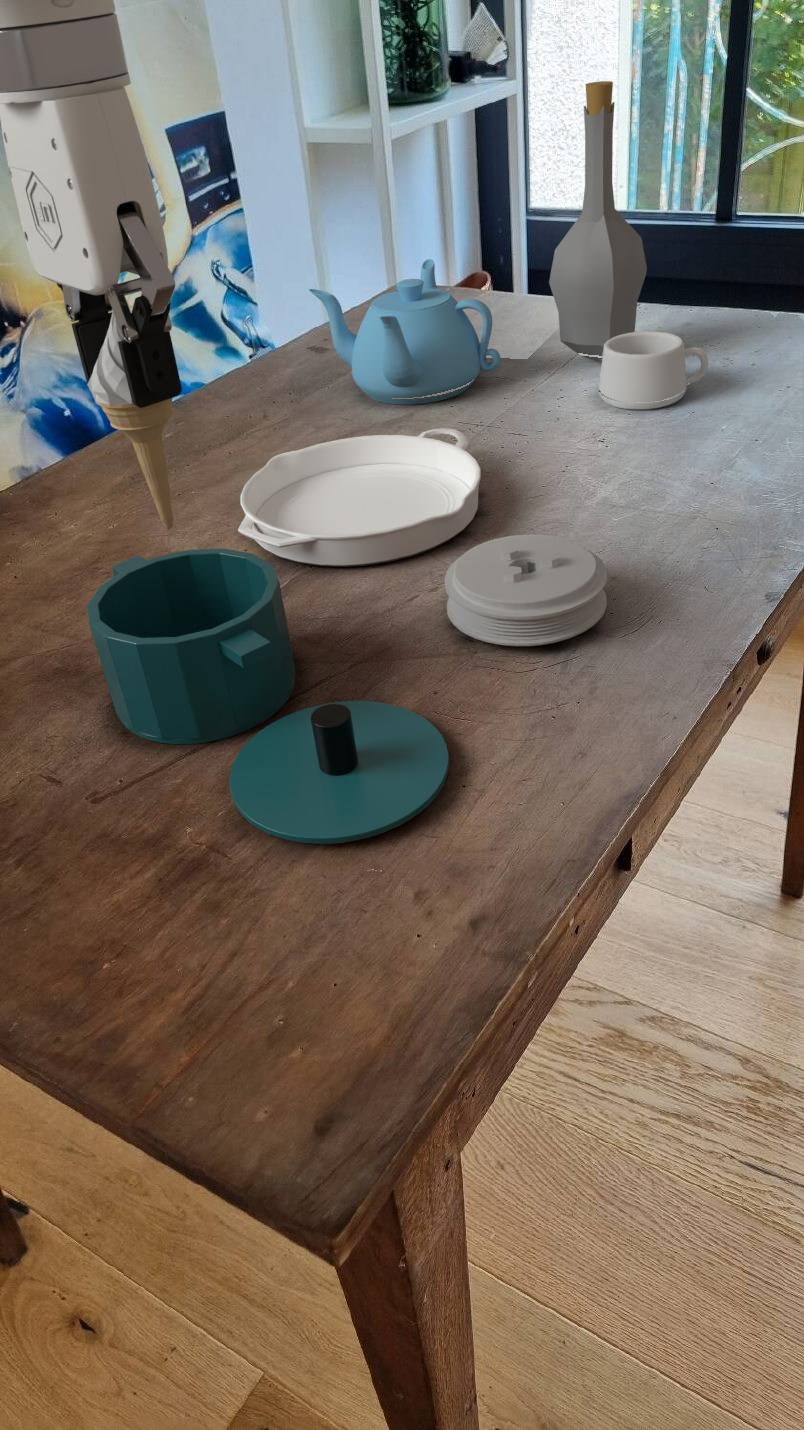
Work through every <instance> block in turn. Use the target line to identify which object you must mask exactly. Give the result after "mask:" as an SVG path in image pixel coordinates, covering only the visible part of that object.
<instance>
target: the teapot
mask: <svg viewBox="0 0 804 1430" xmlns="http://www.w3.org/2000/svg"><path fill="white" fill-rule="evenodd" d="M435 265H436V264H435V261H434V260H433V259H432V258H429V259H426V260H424V262H423V263H422V265H421V268H420V278H407V279H403V280H400V281H398V282H397V283H396V284H395V287H396V289H397V290H395V291H391V292H388V293H385V294H383V295H379V296H378V297H376V298H375V299H374V300H372V302H371V304H370V306H369V307H368V308H367V311H366V313H365V315H364V318H363V320H362V322H361V324H360V327H359V329H358V332H357V334H354V333H353V332H352V331H351V329H349V328H348V325H347V324H346V321H345V317H344V312H343V309H342V305H341V303H340V302H339V300H338V298H337V297H336V296H335V295H334V294H332V293H330V292H328V291H325V290H321V289H316V288H310V289H308V291H309V292H310V293H311V294H312V295H314V296H315V297H316V298H317V299H319V300H320V302H321V303H322V304H323V307H324V308H325V311H326V313H327V316H328V320H329V327H330V334H331V339H332V343H333V347H334V350H335V351H336V353H337V355H338V357H339V358H340V359H341V360H342V361H343V362H344V363H346V364H347V365H348V366H350V367H351V376H352V379H353V381H354V383H355V384H356V385H357V386H358V387H359V389H360V390H362V392H363V393H365V394H366V395H367V396H368V397H369V398H371V399H372V400H374V401H376V402H380V403H384V404H388V405H389V404H390V405H421V404H422V405H423V404H431V403H434V402H440V401H443V400H448V399H450V398H453V397H456V396H459V395H460V394H463V393H464V392H465V391H467V390H468V389H469V388H470V387H471V386H472V384H473V383H474V382H475V380H476V379H477V378H478V376H479V374H480V373H481V371H483V372H485V373H486V372H487V373H490V372H493V371H495V370H497V369H498V368H499V367H500V365H501V357H502V356H501V355H500V352H499V351H498V350H497V349H495V348H489V344H490V340H491V335H492V330H493V329H492V328H493V315H492V311H491V310H490V308H489V306H488V305H486V303H484V302H483V301H481V300H478V299H477V298H465V299H462V300H460V301H457V299H455V297H454V296H453V295H452V294H451V293H449V292H448V291H446V290H445V289H444V290H443V289H441V288H440V289H439V288H438V287H437V282H436V274H435V268H436V267H435ZM468 309H471V310H475V311H476V312H478V313H479V314H480V315H481V317H482V333H481V337H480V340H479V336H478V333H477V331H476V329H475V326H474V325H473V323H472V322H471V320H470V318H469V316H468V315H467V314H466V312H465V311H464V310H468ZM488 356H491V358H492V360H493V361H492V362H489V361H488V359H487V357H488ZM475 378H476V379H475ZM473 379H475V380H474V381H473V382H471V381H472V380H473ZM469 382H471V383H470V384H469V385H467V386H465V387H463V388H461V389H458V390H455V391H453V392H449V393H446V394H442V395H437V396H431V397H424V398H414V399H392V398H413V397H422V396H427V395H432V394H437V393H441V392H445V391H448V390H451V389H456V388H458V387H461V386H463V385H466V384H467V383H469Z"/></svg>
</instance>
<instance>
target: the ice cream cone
mask: <svg viewBox="0 0 804 1430" xmlns="http://www.w3.org/2000/svg"><path fill="white" fill-rule="evenodd" d="M111 312H112V316H111V321H110V325H109V329H108V332H107V335H106V338H105V341H104V344H103V346H102V348H101V350H100V353H99V357H98V359H97V362H96V364H95V366H94V369H93V373H92V375H91V378H90V380H89V382H88V383H87V384H86V385H87V387H88V389H89V391H90V393H91V395H92V397H93V399H94V402H95V405H98V406H100V407H101V409H102V411H103V413H104V414H105V415H106V417H107V419H108V420H109V422H110V426H111V427H112V428H114V429H116V430H118V431H119V432H121V433H122V434H124V436H125V437H127V438H128V439H129V440H130V441H131V443H132V445H133V449H134V451H135V454H136V457H137V459H138V463H139V465H140V468H141V471H142V474H143V476H144V478H145V481H146V483H147V486H148V489H149V491H150V494H151V497H152V499H153V501H154V504H155V506H156V509H157V512H158V515H159V518H160V520H161V523H162V525H163V526H164V528H165V529H167V530H171V529H172V528H173V526H174V514H173V508H172V502H171V491H170V484H169V477H168V468H167V460H166V454H165V448H164V446H165V445H164V440H163V436H162V434H163V431H164V429H165V426H166V424H167V423H168V421H169V420H170V418H172V416H173V414H174V411H173V410H172V409H173V398H170V399H167V400H164V401H161V402H158V403H155V404H152V405H149V406H146V407H144V408H140V407H137V406H135V405H134V404H133V402H132V399H131V395H130V391H129V387H128V382H127V378H126V374H125V370H124V366H123V362H122V358H121V354H120V350H119V346H118V342H119V341H122V340H125V339H124V338H123V335H122V333H121V330H120V328H119V325H118V322H117V320H116V317H115V314H114V312H113V311H111Z"/></svg>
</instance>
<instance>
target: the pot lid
mask: <svg viewBox="0 0 804 1430" xmlns="http://www.w3.org/2000/svg"><path fill="white" fill-rule="evenodd" d="M449 769H450V755H449V749H448V745H447V743H446V740H445V738H444V737H443V734H441V732H440V731H439V729H438V728H436V726H434V724H433V723H432V722H430V721H429V720H428V719H426V718H425V717H424V716H422V715H420V714H418V713H417V712H414V711H412V710H410V709H407V708H405V707H402V706H398V705H395V704H390V703H385V702H381V701H380V702H379V701H371V700H347V701H346V700H345V701H336V702H328V703H327V702H326V703H323V704H319V705H314V706H311V707H307V708H303V709H300V710H297V711H295V712H292V713H289V714H288V715H285V716H283V717H281V718H279V719H277V720H275V721H273V722H272V723H270V724H269V725H266V726H265V727H264V728H263V729H261V730H260V731H258V732H257V733H256V734H255V735H254V736H252V737H251V738H250V739H248V741H247V742H246V743H245V744H244V746H243V747H241V749H240V750H239V752H238V754H237V755H236V757H235V759H234V761H233V763H232V765H231V770H230V773H229V782H228V783H229V789H230V795H231V798H232V801H233V803H234V806H235V807H236V808H237V811H238V812H239V814H240V815H241V816H242V817H243V818H244V819H245V820H246V821H247V822H249V823H250V824H251V825H252V826H254V827H255V828H257V829H258V830H260V831H262V832H263V833H266V834H268V835H271V836H272V837H273V836H274V837H276V838H279V839H282V840H287V841H290V842H295V843H296V842H297V843H304V844H318V845H327V844H341V843H348V842H355V841H359V840H364V839H368V838H371V837H375V836H378V835H381V834H384V833H386V832H389V831H390V830H393V829H395V828H397V827H400V826H402V825H403V824H405V823H407V822H408V821H410V820H411V819H413V818H415V817H416V816H417V815H419V814H420V813H422V811H423V810H425V809H426V808H427V807H428V806H429V805H431V803H432V802H433V801H434V800H435V799H436V797H438V795H439V793H440V792H441V790H442V789H443V787H444V785H445V783H446V780H447V777H448V774H449Z"/></svg>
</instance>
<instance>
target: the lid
mask: <svg viewBox="0 0 804 1430" xmlns="http://www.w3.org/2000/svg"><path fill="white" fill-rule="evenodd" d="M607 581H608V570H607V566H606V564H605V563H604V561H603V560H602V559H601V558H600V557H599V556H598V555H597V554H596V553H594V552H593V551H592V550H590V549H587V547H585V546H583V545H581V544H580V543H578V542H576V541H573V540H571V539H568V538H565V537H560V536H555V535H548V534H535V533H532V534H530V533H529V534H525V533H524V534H513V535H509V536H508V535H507V536H502V537H498V538H494V539H490V540H487V541H484V542H482V543H480V544H477V545H475V546H474V547H472V548H470V549H468V550H467V551H466V552H464V553H463V554H462V555H460V556H459V557H458V558H457V559H455V561H453V563H451V565H449V566H448V568H447V570H446V572H445V575H444V588H445V591H446V594H447V596H448V599H447V602H446V612H447V617H448V618H449V621H450V622H451V624H452V625H453V626H454V627H455V628H456V629H458V630H459V631H460V632H461V633H464V634H465V635H467V636H469V637H471V638H473V639H475V640H478V641H481V642H485V643H488V644H492V645H493V644H494V645H499V646H500V645H501V646H509V647H534V646H543V645H549V644H554V643H557V642H561V641H565V640H569V639H571V638H573V637H576V636H578V635H580V634H582V633H585V632H586V631H587V630H590V629H591V628H592V627H593V626H595V625H596V624H597V623H598V622H599V621H600V620H601V619H602V618H603V616H604V614H605V612H606V609H607V603H608V601H607V600H608V599H607V598H608V597H607V594H606V591H605V589H604V588H605V587H606V584H607Z"/></svg>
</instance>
